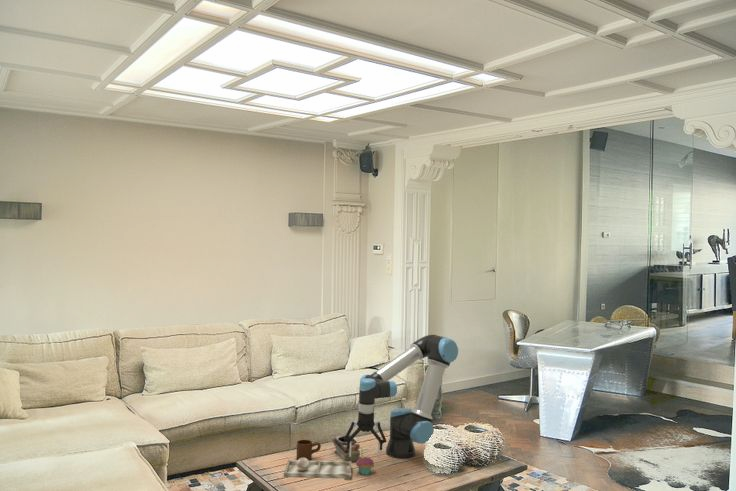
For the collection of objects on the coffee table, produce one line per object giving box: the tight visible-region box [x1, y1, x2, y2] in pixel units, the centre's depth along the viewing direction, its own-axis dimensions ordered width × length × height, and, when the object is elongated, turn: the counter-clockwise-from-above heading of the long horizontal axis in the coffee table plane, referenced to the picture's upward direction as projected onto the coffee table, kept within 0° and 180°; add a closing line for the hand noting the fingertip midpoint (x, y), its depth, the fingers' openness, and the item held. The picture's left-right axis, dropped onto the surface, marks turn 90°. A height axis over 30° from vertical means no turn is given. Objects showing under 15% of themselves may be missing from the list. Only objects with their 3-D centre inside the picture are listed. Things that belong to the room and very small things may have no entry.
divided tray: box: [283, 459, 352, 481], centre depth 290 cm, size 31×16×2 cm, turn 91°
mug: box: [296, 439, 322, 461], centre depth 305 cm, size 12×8×9 cm, turn 99°
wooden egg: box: [297, 457, 309, 471], centre depth 290 cm, size 6×6×6 cm
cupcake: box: [355, 448, 375, 476], centre depth 292 cm, size 9×8×12 cm
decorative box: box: [331, 434, 361, 463], centre depth 312 cm, size 13×20×10 cm, turn 17°
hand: (364, 456), depth 291 cm, fingers open, 13 cm apart
